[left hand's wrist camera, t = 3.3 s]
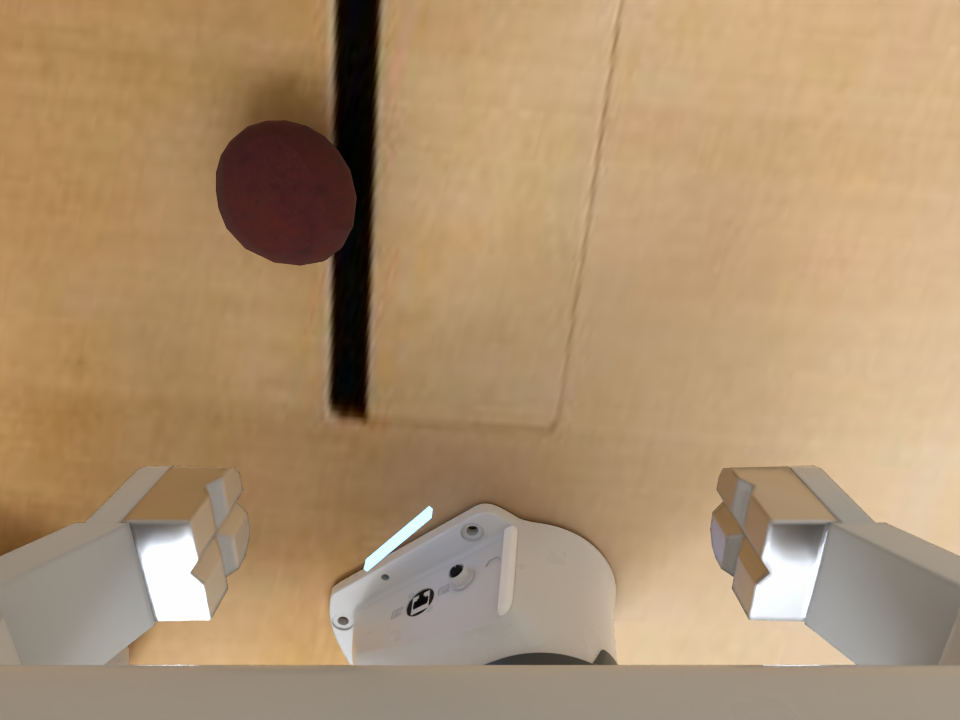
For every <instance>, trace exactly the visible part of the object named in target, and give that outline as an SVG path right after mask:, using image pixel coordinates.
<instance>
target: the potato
mask: <svg viewBox="0 0 960 720" xmlns="http://www.w3.org/2000/svg"><path fill="white" fill-rule="evenodd" d="M216 194H217V200H218V207H219V210H220V213H221V216H222V218H223V221H224V223H225V226H226V228H227V229H228V230H229V231H230V232H231V234H232V235H233V236H234V237H235V238H236V239H237V240H238V241H239V242H240V243H241V244H242V245H243V246H244V247H245V249H248V250H250V251H252V252H254V253H256V254H258V255H260V256H262V257H264V258H266V259H268V260H270V261H273V262H276V263H284V264H292V265H305V264H311V263H316V262H322V261H324V260H327V259H328V258H329V257H330V256H332V255H333V254H334V253H335V252H337V251H338V250H340V249H341V248H342V247H343V245H344V243H345V241H346V239H347V237H348V235H349V233H350V231H351V230H352V228H353V224H354V216H355V208H356V200H357V197H356V192H355V188H354V184H353V180H352V176H351V171H350V169H349V167H348V166H347V164H346V162H345V161H344V159H343V157H342V156H341V154H340V153H339V151H338V150H337V149H336V148H335V147H334V146H333V145H332V144H331V143H330V142H329V141H328V140H327V139H326V138H325V137H324V136H322V135H321V134H319V133H317V132H316V131H314V130H312V129H311V128H309V127H307V126H305V125H301V124H297V123H293V122H289V121H264V122H261V123H258V124H255V125H252V126H248V127H247V128H245V129H244V130H243V131H242V132H241V133H239V134H238V135H237V136H236V137H234V138H233V139H232V140H231V141H230V142H229V144H228V145H227V147H226V148H225V150H224V152H223V153H222V155H221V157H220V161H219V164H218V168H217V172H216Z"/></svg>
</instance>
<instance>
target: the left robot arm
mask: <svg viewBox="0 0 960 720" xmlns="http://www.w3.org/2000/svg"><path fill="white" fill-rule="evenodd" d="M242 491H243V485H242V480H241V476H240V472H239V471H238V470H237V469H236V468H235V467H200V466H176V467H175V466H146V467H140V468H139V469H138V470H137V471H136V472H135V473H134V474H133V475H132V476H131V477H130V478H129V479H128V480H127V481H126V482H125V483H124V484H123V485H122V486H121V487H120V488H119V489H118V490H117V491H116V492H115V493H114V494H113V495H112V496H111V497H110V498H109V499H108V500H107V501H106V502H105V503H104V504H103V505H102V506H101V507H100V508H99V509H98V510H97V511H96V512H95V513H94V514H93V515H92V516H91V517H90V518H89V519H88V520H87V521H86V522H85V523H73V524H71V525H68V526H66V527H64V528H62V529H60V530H57V531H55V532H53V533H51V534H48V535H46V536H44V537H42V538H39V539H37V540H35V541H33V542H30V543H28V544H26V545H24V546H22V547H19V548H17V549H15V550H13V551H10V552H8V553H6V554H4V555H1V556H0V720H960V556H958V555H956V554H954V553H952V552H949V551H947V550H945V549H943V548H941V547H938V546H936V545H934V544H932V543H929V542H927V541H925V540H923V539H921V538H918V537H916V536H914V535H912V534H909V533H907V532H905V531H903V530H900V529H898V528H896V527H894V526H892V525H889V524H887V523H875V522H874V521H873V520H872V519H871V518H870V517H869V516H868V515H867V514H866V513H865V512H864V511H863V510H862V509H861V508H860V507H859V506H858V505H857V504H856V503H855V502H854V501H853V500H852V499H851V498H850V497H849V496H848V495H847V494H846V493H845V492H844V491H843V490H842V489H841V488H840V487H839V486H838V485H837V484H836V483H835V482H834V481H833V480H832V479H831V478H830V477H829V476H828V475H827V474H826V473H825V472H824V471H823V470H822V469H821V468H819V467H816V466H814V465H810V466H784V467H746V468H723V469H722V471H721V474H720V476H719V479H718V484H717V491H718V493H719V495H720V496H721V498H722V499H723V502H722V503H721V504H720V505H719V506H718V507H717V508H716V509H715V510H714V511H713V513H712V521H711V528H710V530H711V542H712V548H713V551H714V554H715V558H716V559H717V561H718V563H719V565H720V567H721V569H723V570H724V571H726V572H727V573H729V574H730V575H732V576H733V577H734V580H733V585H732V589H733V591H734V593H735V595H736V597H737V599H738V600H739V602H740V604H741V606H742V608H743V609H744V611H745V613H746V615H747V617H748V619H749V620H772V621H805V625H807V626H808V627H809V628H810V629H812V630H813V631H814V632H816V633H817V634H818V635H819V636H821V637H822V638H823V639H824V640H826V641H827V642H828V643H829V644H831V645H832V646H833V647H835V648H836V649H837V650H838V651H840V652H841V653H842V654H843V655H845V656H846V657H847V658H848V659H850V660H851V661H852V662H854V663H855V664H856V665H618V661H617V653H616V644H615V630H614V613H615V603H616V583H615V579H614V575H613V572H612V570H611V568H610V566H609V564H608V562H607V561H606V559H605V558H604V556H603V555H602V554H601V553H600V552H599V551H598V550H597V549H596V548H595V547H594V546H593V545H592V544H591V543H589V542H588V541H587V540H585V539H584V538H582V537H580V536H579V535H577V534H575V533H573V532H570V531H568V530H566V529H563V528H560V527H556V526H553V525H548V524H542V523H536V522H530V521H526V520H523V519H519V518H518V517H516V516H514V515H513V514H511V513H509V512H508V511H506V510H504V509H502V508H500V507H498V506H495V505H492V504H488V503H484V504H479V505H476V506H474V507H473V508H471V509H469V510H467V511H465V512H464V513H462V514H460V515H458V516H456V517H455V518H453V519H451V520H449V521H448V522H446V523H444V524H442V525H440V526H439V527H437V528H435V529H433V530H432V531H430V532H428V533H426V534H424V535H423V536H421V537H419V538H417V539H415V540H414V541H412V542H410V543H408V544H407V545H405V546H403V547H401V548H399V549H398V550H396V551H394V552H392V553H390V552H391V551H392V550H393V549H395V548H396V547H397V546H398V545H399V544H401V543H402V542H403V541H404V540H405V539H407V538H408V537H409V536H410V535H411V534H413V533H414V532H415V531H416V530H417V529H419V528H420V527H421V526H422V525H423V524H425V523H426V522H427V521H428V520H429V519H431V517H432V508H431V507H430V506H429V507H428V508H426V509H425V510H424V511H423V512H422V513H420V514H419V515H418V516H417V517H416V518H415V519H413V520H412V521H411V522H410V523H409V524H407V525H406V526H405V527H404V528H403V529H401V530H400V531H399V532H398V533H397V534H396V535H394V536H393V537H392V538H391V539H390V540H388V541H387V542H386V543H385V544H384V545H382V546H381V547H380V548H379V549H378V550H377V551H375V552H374V553H373V554H372V555H371V556H369V557H368V558H367V559H366V562H365V566H364V569H362V570H360V571H358V572H357V573H355V574H353V575H351V576H349V577H348V578H346V579H344V580H342V581H341V582H339V583H338V584H336V585H335V586H334V587H333V588H332V591H331V597H330V604H329V614H330V621H331V625H332V629H333V632H334V635H335V637H336V640H337V642H338V644H339V646H340V648H341V650H342V652H343V653H344V655H345V657H346V658H347V660H348V662H349V663H350V664H351V665H104V664H105V663H107V662H108V661H109V660H110V659H112V658H113V657H114V656H115V655H117V654H118V653H119V652H121V651H122V650H123V649H124V648H126V647H127V646H128V645H129V644H131V643H132V642H133V641H135V640H136V639H137V638H138V637H140V636H141V635H142V634H143V633H145V632H146V631H147V630H148V629H150V628H151V627H152V626H154V625H155V621H187V620H211V619H212V617H213V615H214V613H215V611H216V610H217V608H218V606H219V604H220V602H221V600H222V599H223V597H224V595H225V593H226V591H227V589H228V585H227V580H226V577H227V576H228V575H230V574H231V573H233V572H234V571H236V570H237V569H239V567H240V565H241V563H242V561H243V559H244V557H245V555H246V550H247V546H248V542H249V520H248V513H247V511H246V510H245V509H244V508H243V507H242V506H241V505H240V504H239V503H238V502H237V499H238V498H239V496H240V494H241V493H242ZM470 526H475V527H477V528H476V529H469V528H468V527H470ZM389 553H390V554H389ZM387 554H389V555H387ZM386 555H387V556H386ZM343 617H346V618H343Z"/></svg>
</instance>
